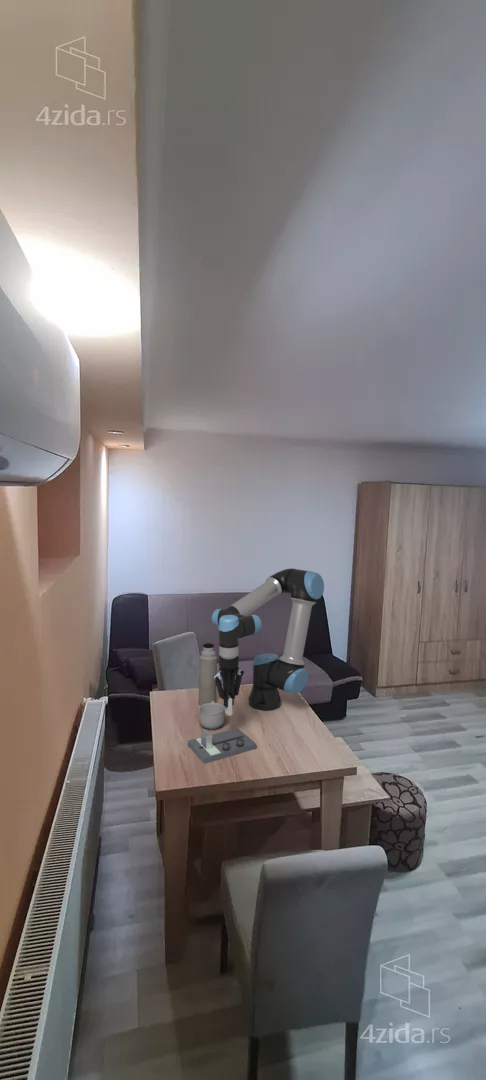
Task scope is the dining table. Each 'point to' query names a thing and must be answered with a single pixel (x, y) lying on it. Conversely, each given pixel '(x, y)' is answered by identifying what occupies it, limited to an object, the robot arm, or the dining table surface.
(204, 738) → the fader cap
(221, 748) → the console
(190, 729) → the dining table surface
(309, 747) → the dining table surface
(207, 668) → the thermos bottle
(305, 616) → the robot arm
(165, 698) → the dining table surface
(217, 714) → the teacup
